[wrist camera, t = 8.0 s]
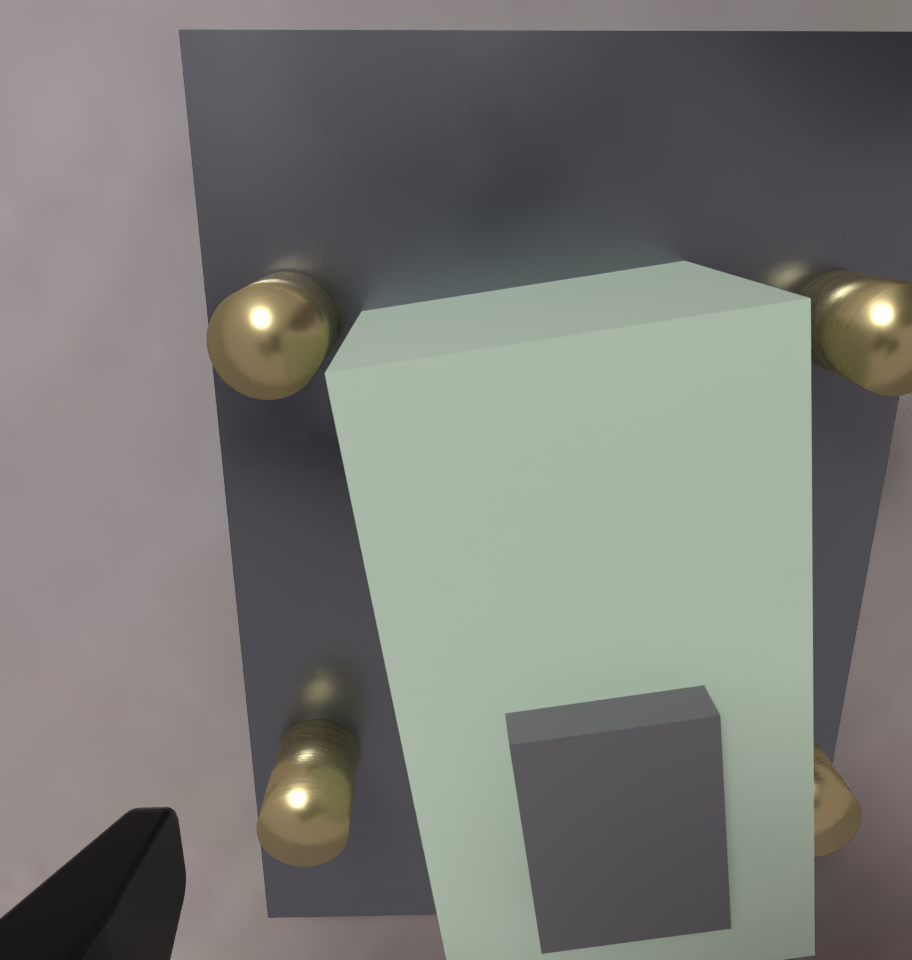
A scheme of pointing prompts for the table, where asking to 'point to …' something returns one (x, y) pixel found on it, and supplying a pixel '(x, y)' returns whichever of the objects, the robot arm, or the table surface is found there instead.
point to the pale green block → (596, 607)
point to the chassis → (500, 265)
